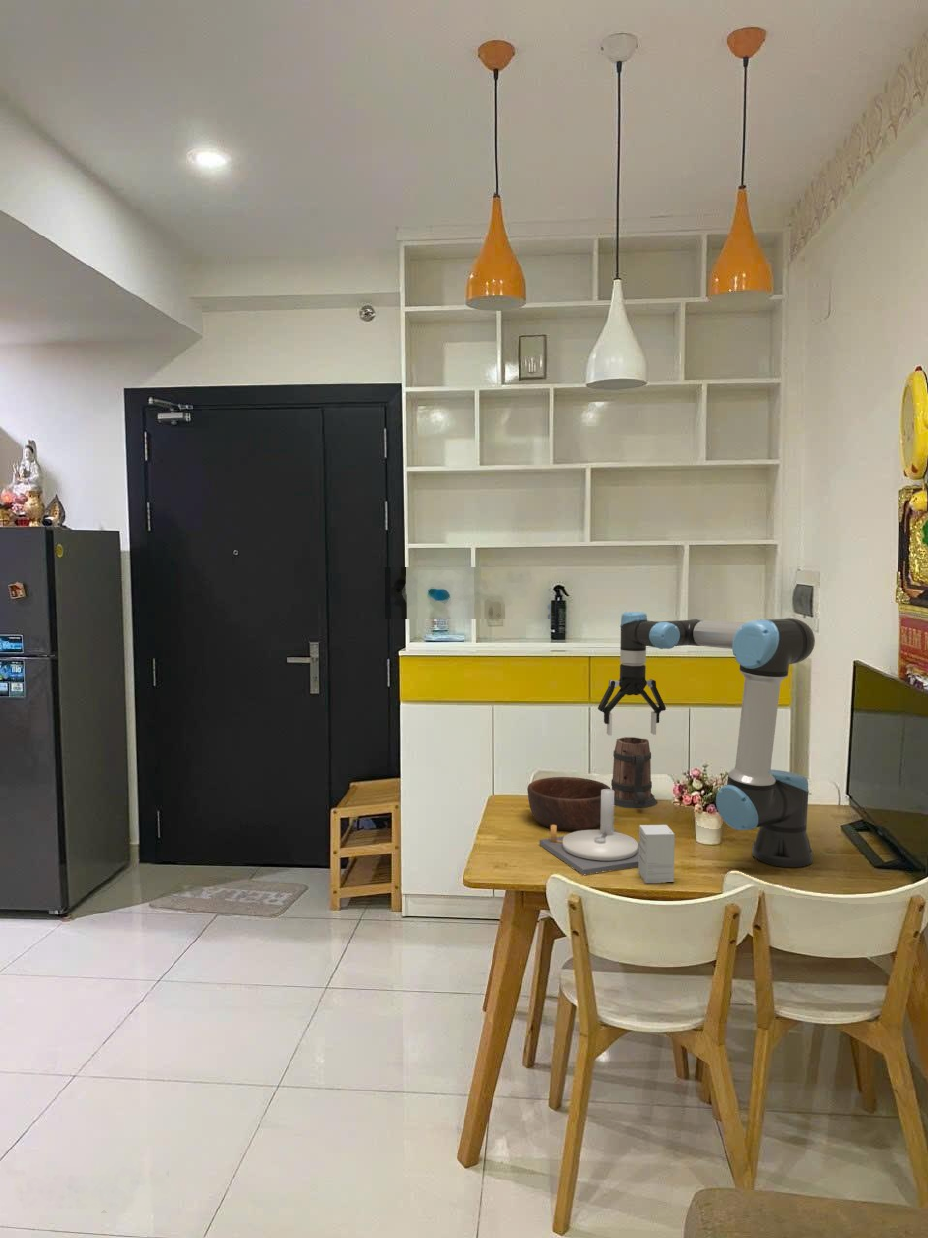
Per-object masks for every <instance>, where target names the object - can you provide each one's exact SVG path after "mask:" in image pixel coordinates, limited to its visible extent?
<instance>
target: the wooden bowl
mask: <svg viewBox="0 0 928 1238" xmlns="http://www.w3.org/2000/svg"><path fill="white" fill-rule="evenodd" d="M603 789H611V787H610V786H608V785H607V784H606V783H603V782H601V781H598V780H594V779H588V778H582V777H576V776H575V777H574V776H573V777H572V776H571V777H570V776H557V777H556V776H555V777H554V776H553V777H546V778H539V779H537V780H534V781H532V782H531V783H529V784H528V786H527V797H528V805H529V809H530V812H531V814H532V816H533V818H534V820H535V822H537V823H538V824H539V825H541V826H543V827H545V828H549V829H551V825H557V830H558V831H568V832H570V831H571V832H576V831H581V830H593V829H595V828H597V827H600V818H601V790H603Z"/></svg>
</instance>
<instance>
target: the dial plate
mask: <svg viewBox="0 0 928 1238" xmlns="http://www.w3.org/2000/svg"><path fill="white" fill-rule="evenodd" d="M557 830H558V829H557V825H551V828H550V837H548V838H543V839H539V846H541V847H542V848H543V849H545V850H546V851H547V852H549V853H550V854H551V855H553V856H555V857H556V858H557V857H558V859H559V860H560V859H561V860H560V861H562V862H563V861H564V862H563V863H565V864H566V863H567V864H569V865H570V866H571V867H570V866H569V865H568V866H569V867H570V868H572V867H573V868H574V870H575V869H576V870H577V871H576V870H575V871H576V872H578V871H579V872H580V873H581V874H580V873H579V872H578V873H579V874H580V875H582V874H583V875H584V874H590V873H596V872H602V871H609V870H616V871H621V870H620V869H622V870H627V868H629V869H633V868H634V867H635V868H638V861H639V842H638V852H637V853H636V854H635V855H634V856H632V857H629V858H626V859H622V860H612V861H601V860H591V859H585V858H581V857H577V856H575V855H572V854H570V853H568V852H567V851H565V850H564V848H563V838H564V836H565V835H564V836H557V835H558V833H557ZM613 831H614V832H618V833H621V832H619V831H618V830H616V829H613ZM567 864H566V865H567ZM573 868H572V869H573ZM635 868H634V869H635ZM618 869H619V870H618ZM609 872H610V871H609ZM596 874H597V873H596ZM583 875H582V876H583ZM590 875H591V874H590ZM584 876H585V875H584Z"/></svg>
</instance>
